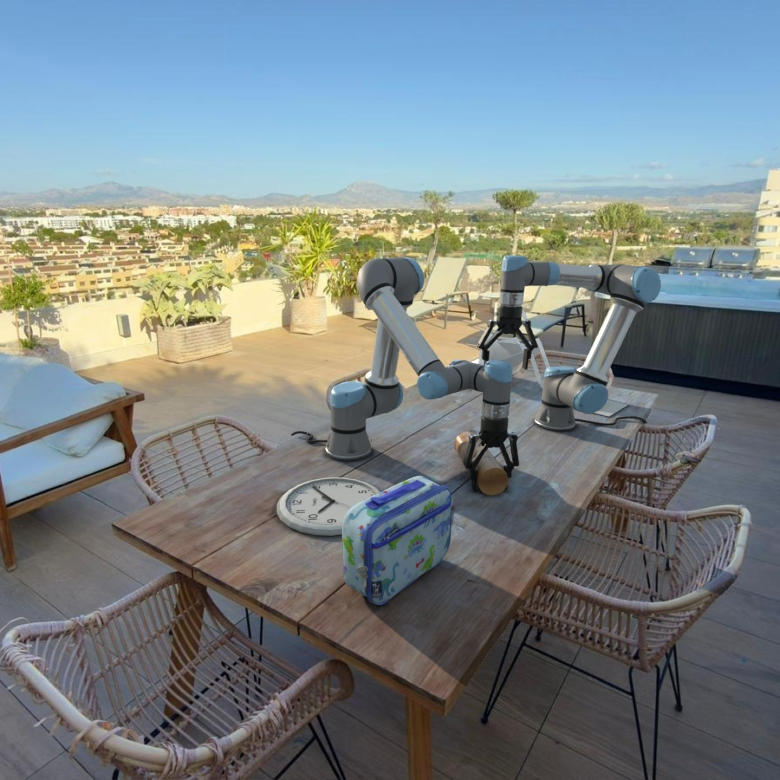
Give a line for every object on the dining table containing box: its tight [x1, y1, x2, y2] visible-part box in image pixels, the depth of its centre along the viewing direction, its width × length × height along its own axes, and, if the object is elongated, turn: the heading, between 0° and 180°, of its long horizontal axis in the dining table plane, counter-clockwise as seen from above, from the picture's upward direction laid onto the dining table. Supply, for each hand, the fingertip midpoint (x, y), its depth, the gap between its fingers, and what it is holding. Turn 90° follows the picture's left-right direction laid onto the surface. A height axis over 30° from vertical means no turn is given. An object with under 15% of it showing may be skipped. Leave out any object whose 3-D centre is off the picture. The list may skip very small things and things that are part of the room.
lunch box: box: [341, 475, 453, 606], centre depth 111 cm, size 26×11×21 cm, turn 134°
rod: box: [453, 431, 509, 496], centre depth 161 cm, size 27×9×9 cm, turn 8°
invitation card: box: [594, 399, 629, 418], centre depth 226 cm, size 21×1×15 cm
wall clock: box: [276, 476, 382, 537], centre depth 142 cm, size 30×2×30 cm
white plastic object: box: [472, 308, 551, 390], centre depth 259 cm, size 37×45×31 cm
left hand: (489, 488), depth 153 cm, fingers closed on rod, 9 cm apart
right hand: (505, 369), depth 174 cm, fingers open, 13 cm apart
